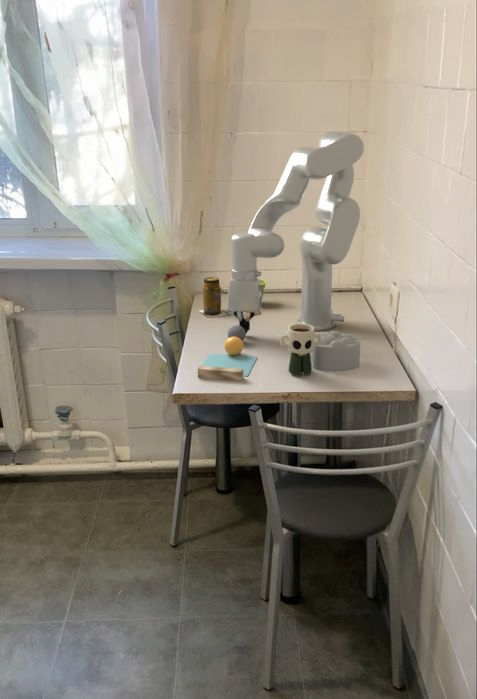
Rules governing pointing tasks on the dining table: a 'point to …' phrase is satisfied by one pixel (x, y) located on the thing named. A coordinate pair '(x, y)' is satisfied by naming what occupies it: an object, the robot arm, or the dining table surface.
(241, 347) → the orange ball
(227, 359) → the teal mark
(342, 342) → the lumpy-topped squat cylinder
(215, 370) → the wall
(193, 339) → the dining table surface
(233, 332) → the gray ball
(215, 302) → the condiment
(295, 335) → the character mug
